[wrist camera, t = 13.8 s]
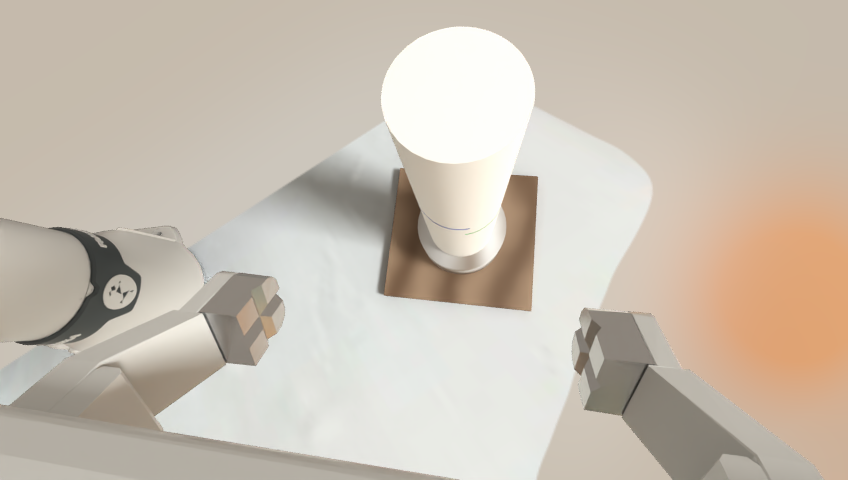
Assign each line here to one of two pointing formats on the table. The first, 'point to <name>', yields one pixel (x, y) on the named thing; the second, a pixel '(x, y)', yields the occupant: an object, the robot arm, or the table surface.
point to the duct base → (470, 287)
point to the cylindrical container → (458, 128)
